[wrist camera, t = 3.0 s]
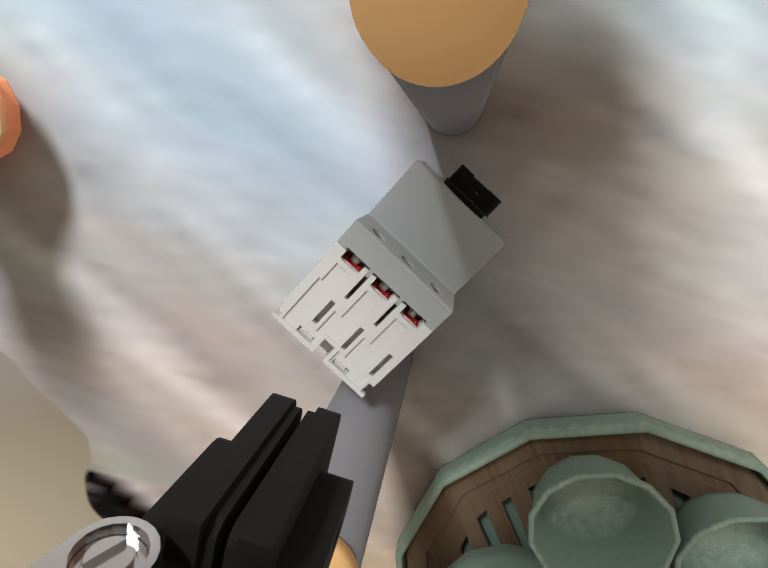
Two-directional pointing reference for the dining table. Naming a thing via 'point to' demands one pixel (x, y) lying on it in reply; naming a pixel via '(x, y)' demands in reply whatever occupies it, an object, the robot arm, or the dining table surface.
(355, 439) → the post
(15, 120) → the potted cactus
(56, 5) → the dining table surface
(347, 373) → the circuit breaker
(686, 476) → the tea set
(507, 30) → the post
